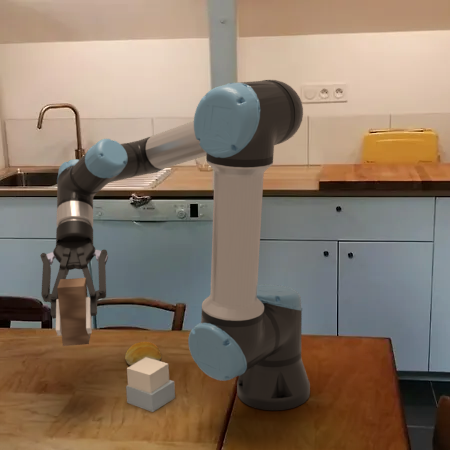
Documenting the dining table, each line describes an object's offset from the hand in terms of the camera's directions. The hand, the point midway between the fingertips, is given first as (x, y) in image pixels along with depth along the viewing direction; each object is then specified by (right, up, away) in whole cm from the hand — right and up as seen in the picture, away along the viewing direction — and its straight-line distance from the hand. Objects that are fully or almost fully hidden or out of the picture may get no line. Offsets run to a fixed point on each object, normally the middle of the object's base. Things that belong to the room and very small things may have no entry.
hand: (73, 331), depth 135 cm
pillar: (0, -2, +4) cm, 5 cm away
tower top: (+13, -12, +9) cm, 20 cm away
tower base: (+14, -16, +10) cm, 24 cm away
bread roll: (+10, -11, +29) cm, 33 cm away
